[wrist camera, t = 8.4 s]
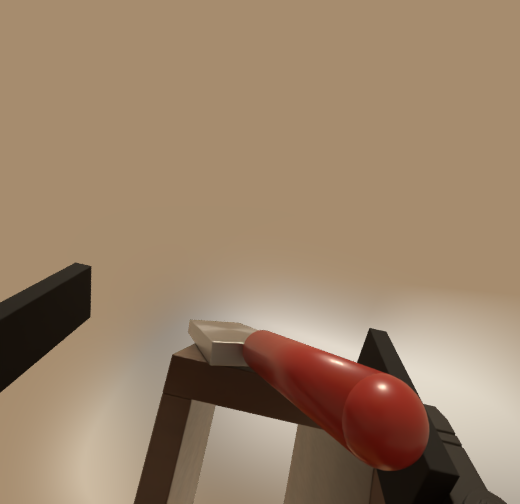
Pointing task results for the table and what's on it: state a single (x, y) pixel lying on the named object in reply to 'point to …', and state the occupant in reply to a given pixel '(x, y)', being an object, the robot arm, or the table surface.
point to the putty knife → (327, 391)
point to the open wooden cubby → (252, 401)
